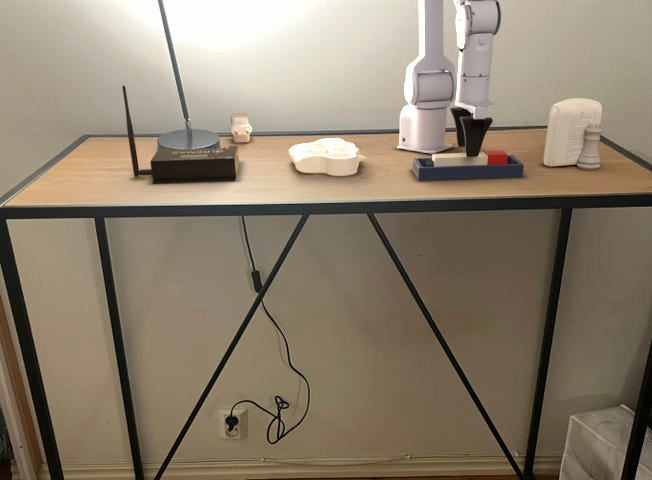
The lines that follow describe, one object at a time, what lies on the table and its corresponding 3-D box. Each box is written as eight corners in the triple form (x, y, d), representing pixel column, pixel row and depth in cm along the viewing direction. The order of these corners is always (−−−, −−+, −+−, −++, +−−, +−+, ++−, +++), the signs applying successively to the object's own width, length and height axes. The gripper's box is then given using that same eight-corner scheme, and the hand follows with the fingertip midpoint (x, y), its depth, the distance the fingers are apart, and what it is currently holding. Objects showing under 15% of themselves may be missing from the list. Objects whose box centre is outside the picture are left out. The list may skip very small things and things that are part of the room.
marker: (427, 174, 136) (428, 156, 134) (425, 169, 139) (425, 152, 137) (505, 171, 136) (507, 154, 135) (501, 167, 139) (503, 150, 138)
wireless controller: (239, 162, 149) (233, 74, 141) (235, 181, 137) (228, 86, 129) (143, 166, 149) (130, 78, 140) (130, 184, 137) (115, 89, 128)
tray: (418, 181, 134) (418, 168, 133) (412, 170, 141) (412, 158, 140) (522, 177, 135) (524, 164, 134) (511, 167, 141) (512, 154, 140)
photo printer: (585, 159, 145) (594, 94, 139) (597, 164, 142) (608, 98, 136) (539, 163, 143) (547, 98, 137) (550, 168, 139) (559, 101, 134)
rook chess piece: (604, 166, 140) (611, 124, 136) (593, 171, 137) (601, 128, 133) (582, 163, 143) (588, 121, 139) (571, 167, 140) (578, 125, 136)
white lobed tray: (287, 156, 153) (354, 152, 155) (298, 179, 137) (373, 174, 139) (286, 140, 151) (354, 136, 153) (297, 161, 136) (373, 156, 138)
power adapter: (254, 148, 161) (252, 120, 158) (232, 149, 160) (230, 122, 157) (250, 137, 170) (248, 111, 167) (229, 138, 170) (227, 112, 167)
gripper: (506, 80, 123) (498, 160, 130) (486, 68, 136) (480, 141, 142) (465, 81, 123) (459, 161, 129) (449, 69, 135) (444, 142, 142)
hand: (467, 151), depth 136 cm, fingers open, 7 cm apart
